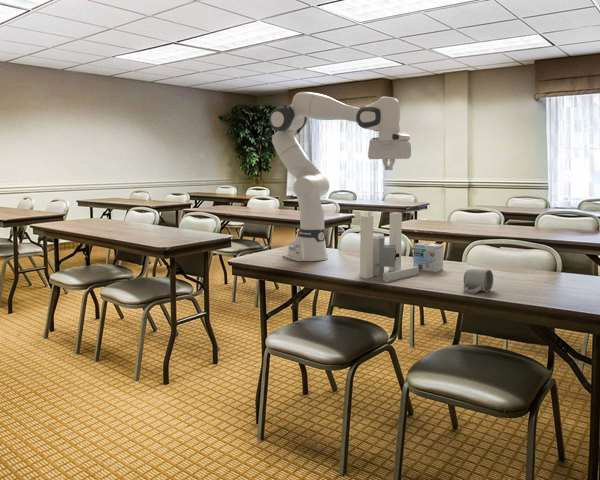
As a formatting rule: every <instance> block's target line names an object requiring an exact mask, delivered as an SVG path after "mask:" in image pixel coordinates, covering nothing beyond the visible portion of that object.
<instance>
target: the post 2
mask: <svg viewBox="0 0 600 480" xmlns="http://www.w3.org/2000/svg"><path fill="white" fill-rule="evenodd" d="M402 231H403V212H398V211H397V212H389V236H388V237H389V241H388V242H389V243H388V245H395V250H396V253H399V257H396V260H395V267H388V272H391V271H395V270H400V269H402V235H403V234H402Z"/></svg>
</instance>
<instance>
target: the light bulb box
mask: <svg viewBox="0 0 600 480" xmlns="http://www.w3.org/2000/svg"><path fill="white" fill-rule="evenodd" d="M444 246H445V245H444V244H443V243H442V244H441V243H434V242H433V243H432V242H424V241H421V242H417V243H416V242H415V243H413V259H412V263H413V264H412V265H413V266H417V267H419V271H424V272H425V271H426V272H432V273H437V272H440V271H443V270H444V250H445V249H444ZM413 266H412V267H413Z"/></svg>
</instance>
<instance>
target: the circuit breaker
mask: <svg viewBox="0 0 600 480" xmlns="http://www.w3.org/2000/svg"><path fill="white" fill-rule="evenodd" d="M385 238H386V236H385V235H373V277H374V276H377V277H383V273H385V267H387V268H389V267H395V260H396V257H399V253H396V250H395V245H389V244H385Z"/></svg>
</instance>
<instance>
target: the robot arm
mask: <svg viewBox="0 0 600 480" xmlns="http://www.w3.org/2000/svg"><path fill="white" fill-rule="evenodd" d="M309 118H310V119H313V120H320V121H321V120H322V121H335V120H336V121H338V120H339V121H349V122H352V123H353V122H354V123H357V125H358V126H359V127H360V128H362V129H364V130H369V131H374V132H378V133H377V134H378V135H377V136H378V137H371V139H370V140H369V142H368V143H369V145H368V151H367V157H368V159H369V160H382V161H381V162H382V164H383V166H384V171H392V170H393V168H394V164H395V163H396V160H404V159H406V160H407V159H408V160H409V159H410V158H411V156H412V145H411V144H412V143H411V142H410V140H411V135H410V134H407V133H404V132H401V127H400V120H401V106H400V101H399V100H398V99H397V98H395V97H391V96H381V97H380V98H379V99H377V100H376V101H374V102H373V103H369V104H368V105H365V106H362V107H356V106H352V105H348V104H345V103H343V102H341V101H339V100H336V99H334V98H333V97H331V96H328V95H326V94H322V93H319V92H318V93H317V92H312V91H300V92H297V93H295V95H293V97H292V101H291V103H290V104H283V105H281V106H279V107H276V108H274V109H273V110H272V111H271V112H270V114H269V118H268V122H269V125H270V126H271V128H273V129H274V130H275V131H276V132H275V133H274V134H273V135H272V138H271V142H272V145H273V148H274V150H275V152H276V154H277V155H278V157H279V159H280V160H281V162H282V164H283V165H284V167H285V168H286V170H287V172H289V174H290V175H291V176H293V177H294V178H295V179H296V180H295V182H294V184H293V191H294V194H295V196H296V199H297V203H298V207H299V208H298V209H299V216H300V218H299V220H300V224H299V225H300V228H299V229H296V233H298V234H297V236H296V238H294V239H293V240H291V242H290V243H289V244H288V246H287V253H284V254H282V257H283V256H284V257H283V258H286V259H290V260H293V261H296V262H319V261H320V262H321V261H324V260H325V261H326V260H328V258H329V257H328V253H327V252H328V251H327V246H326V240H325V237H326V228H325V211H324V209H323V206H322V201H321V198H322V197H323V196H326V195H327V193H328V192H329V191H330V181H329V180H328V178H327V177H325V176H324V175H323V174H322V173H321V171H320V170H319V169H318V168H317V167H316V166H315V164H314V163H313V162H312V161H311V160H310V159H309V157H308V156H307V154H306V152H305V150H304V149H303V147H302V146H301V145H300V142H299V141H298V140H297V137H296V135H299V133H300V132H301V131H302V129H303V128H305V126H306V124H307V122H308V119H309ZM388 162H389V164H388Z"/></svg>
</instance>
